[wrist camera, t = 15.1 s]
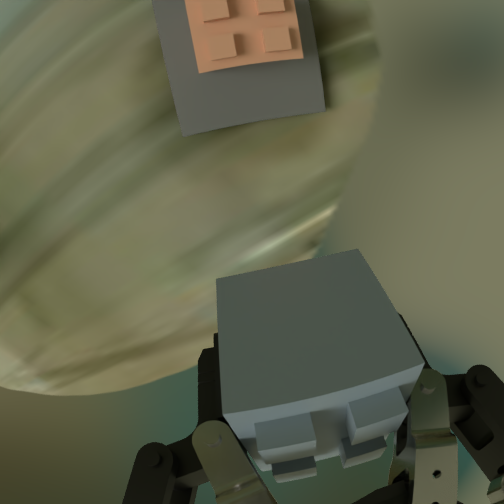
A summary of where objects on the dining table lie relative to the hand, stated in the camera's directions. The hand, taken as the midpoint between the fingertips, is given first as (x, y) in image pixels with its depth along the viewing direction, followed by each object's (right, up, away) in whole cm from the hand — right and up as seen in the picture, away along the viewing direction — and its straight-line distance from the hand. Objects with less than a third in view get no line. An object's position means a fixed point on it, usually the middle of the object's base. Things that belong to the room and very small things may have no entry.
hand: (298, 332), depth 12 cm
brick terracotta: (-3, +18, +6) cm, 20 cm away
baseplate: (-3, +21, +6) cm, 22 cm away
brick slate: (0, 0, 0) cm, 1 cm away
